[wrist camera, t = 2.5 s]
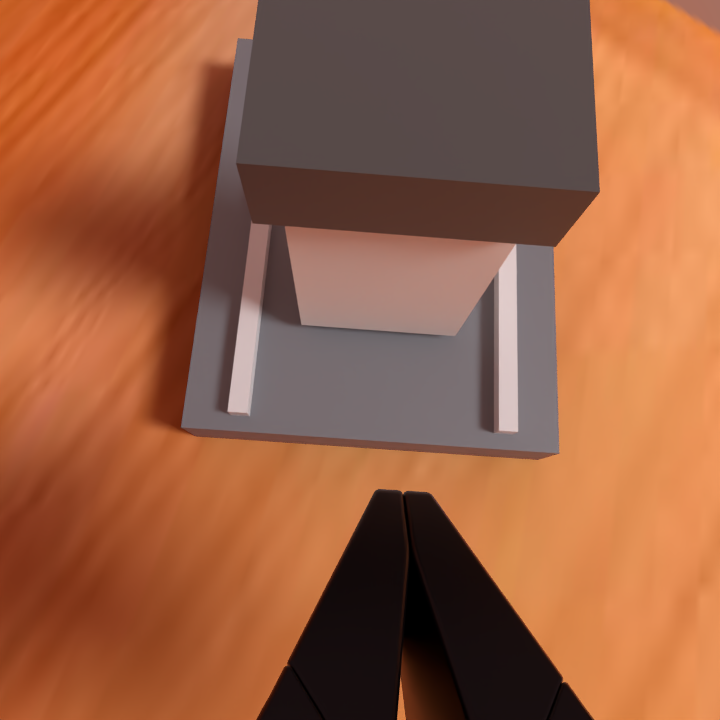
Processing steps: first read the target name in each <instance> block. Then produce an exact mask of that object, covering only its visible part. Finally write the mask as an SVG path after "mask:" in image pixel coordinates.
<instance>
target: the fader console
mask: <svg viewBox="0 0 720 720" xmlns="http://www.w3.org/2000/svg"><path fill="white" fill-rule="evenodd" d="M252 43H253V40H251V39H239V38H238V41H237V48H236V55H235V62H234V69H233V76H232V82H231V89H230V96H229V103H228V110H227V116H226V123H225V130H224V137H223V144H222V151H221V157H220V164H219V171H218V178H217V185H216V192H215V198H214V205H213V212H212V219H211V226H210V232H209V239H208V246H207V253H206V260H205V267H204V273H203V280H202V287H201V294H200V301H199V308H198V314H197V321H196V328H195V335H194V342H193V349H192V355H191V362H190V369H189V376H188V383H187V389H186V396H185V403H184V410H183V417H182V424H181V428H183V429H184V430H186V431H188V432H189V433H191V434H193V435H194V436H200V437H214V438H229V439H243V440H258V441H273V442H287V443H302V444H316V445H331V446H345V447H360V448H375V449H389V450H404V451H418V452H433V453H448V454H462V455H477V456H491V457H506V458H520V459H535V460H539V459H542V458H546V457H549V456H552V455H556V454H559V429H558V394H557V359H556V324H555V288H554V253H553V247H550V246H537V245H524V244H515V246H514V248H513V249H512V251H511V252H510V254H509V255H508V257H507V258H506V260H505V261H504V263H503V264H502V266H501V267H500V269H499V270H498V272H497V273H496V275H495V276H494V278H493V279H492V281H491V283H490V284H489V286H488V287H487V289H486V290H485V292H484V293H483V295H482V296H481V298H480V299H479V301H478V302H477V304H476V305H475V307H474V308H473V310H472V311H471V313H470V314H469V316H468V317H467V319H466V321H465V322H464V324H463V325H462V327H461V328H460V330H459V331H458V333H457V334H456V336H446V335H432V334H419V333H405V332H391V331H378V330H364V329H351V328H337V327H323V326H310V325H301V319H300V313H299V308H298V302H297V296H296V290H295V284H294V278H293V272H292V266H291V261H290V255H289V249H288V243H287V237H286V231H285V226H279V225H266V224H253V223H252V219H251V216H250V212H249V209H248V205H247V201H246V198H245V194H244V191H243V187H242V183H241V180H240V176H239V172H238V169H237V165H236V159H237V152H238V144H239V137H240V130H241V123H242V115H243V108H244V101H245V94H246V86H247V79H248V72H249V65H250V57H251V50H252Z"/></svg>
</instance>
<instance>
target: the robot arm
mask: <svg viewBox="0 0 720 720" xmlns="http://www.w3.org/2000/svg"><path fill="white" fill-rule="evenodd" d="M400 676H401V682H402V690H403V699H404V707H405V715H406V720H594V719H593V718H592V716H591V715H590V714H589V712H588V711H587V710H586V708H585V707H584V706H583V704H582V703H581V701H580V700H579V699H578V697H577V696H576V694H575V693H574V692H573V690H572V689H571V687H570V686H569V685H568V683H566V682H563V683H562V681H563V677H562V675H561V674H560V672H559V671H558V670H557V668H556V667H555V665H554V664H553V663H552V661H551V660H550V658H549V657H548V656H547V654H546V653H545V652H544V650H543V649H542V647H541V646H540V645H539V643H538V642H537V640H536V639H535V638H534V636H533V635H532V633H531V632H530V631H529V629H528V628H527V626H526V625H525V624H524V622H523V621H522V620H521V618H520V617H519V615H518V614H517V613H516V611H515V610H514V608H513V607H512V606H511V604H510V603H509V601H508V600H507V599H506V597H505V596H504V594H503V593H502V592H501V590H500V589H499V588H498V586H497V585H496V583H495V582H494V581H493V579H492V578H491V576H490V575H489V574H488V572H487V571H486V569H485V568H484V567H483V565H482V564H481V562H480V561H479V560H478V558H477V557H476V556H475V554H474V553H473V551H472V550H471V549H470V547H469V546H468V544H467V543H466V542H465V540H464V539H463V537H462V536H461V535H460V533H459V532H458V530H457V529H456V528H455V526H454V525H453V524H452V522H451V521H450V519H449V518H448V517H447V515H446V514H445V512H444V511H443V510H442V508H441V507H440V505H439V504H438V503H437V501H436V500H435V498H434V497H433V496H432V495H431V494H430V493H427V492H415V491H406V492H405V493H404V494H402V492H401V491H398V490H385V489H378V490H376V491H375V492H374V494H373V496H372V498H371V500H370V502H369V504H368V506H367V508H366V509H365V511H364V513H363V515H362V517H361V519H360V521H359V523H358V525H357V527H356V529H355V531H354V533H353V535H352V537H351V539H350V541H349V543H348V545H347V547H346V549H345V550H344V552H343V554H342V556H341V558H340V560H339V562H338V564H337V566H336V568H335V570H334V572H333V574H332V576H331V578H330V580H329V582H328V584H327V586H326V588H325V590H324V592H323V593H322V595H321V597H320V599H319V601H318V603H317V605H316V607H315V609H314V611H313V613H312V615H311V617H310V619H309V621H308V623H307V625H306V627H305V629H304V631H303V633H302V634H301V636H300V638H299V640H298V642H297V644H296V646H295V648H294V650H293V652H292V654H291V656H290V658H289V660H288V663H287V666H285V667H284V669H283V671H282V673H281V675H280V677H279V679H278V681H277V683H276V684H275V686H274V688H273V690H272V692H271V694H270V696H269V698H268V699H267V701H266V703H265V705H264V707H263V708H262V710H261V712H260V714H259V716H258V717H257V719H256V720H397V712H398V700H399V688H400Z"/></svg>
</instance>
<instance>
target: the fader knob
mask: <svg viewBox="0 0 720 720" xmlns="http://www.w3.org/2000/svg"><path fill="white" fill-rule="evenodd" d="M236 165H237V169H238V172H239V176H240V180H241V183H242V187H243V191H244V194H245V198H246V201H247V205H248V209H249V212H250V216H251V219H252V223H253V224H266V225H279V226H285V231H286V237H287V243H288V249H289V255H290V261H291V266H292V272H293V278H294V284H295V290H296V296H297V302H298V308H299V313H300V319H301V325H310V326H323V327H337V328H351V329H364V330H378V331H391V332H405V333H419V334H432V335H446V336H456V334H457V333H458V331H459V330H460V328H461V327H462V325H463V324H464V322H465V321H466V319H467V317H468V316H469V314H470V313H471V311H472V310H473V308H474V307H475V305H476V304H477V302H478V301H479V299H480V298H481V296H482V295H483V293H484V292H485V290H486V289H487V287H488V286H489V284H490V283H491V281H492V279H493V278H494V276H495V275H496V273H497V272H498V270H499V269H500V267H501V266H502V264H503V263H504V261H505V260H506V258H507V257H508V255H509V254H510V252H511V251H512V249H513V248H514V246H515V244H524V245H537V246H550V247H556V246H557V244H558V243H559V242H560V241H561V239H562V238H563V237H564V236H565V234H566V233H567V232H568V231H569V230H570V228H571V227H572V226H573V225H574V223H575V222H576V221H577V220H578V218H579V217H580V216H581V215H582V213H583V212H584V211H585V210H586V209H587V207H588V206H589V205H590V204H591V202H592V201H593V200H594V199H595V197H596V196H597V195H598V194H599V192H600V188H599V169H598V151H597V132H596V113H595V95H594V76H593V57H592V38H591V20H590V1H589V0H258V7H257V14H256V21H255V28H254V36H253V43H252V50H251V57H250V65H249V72H248V79H247V86H246V94H245V101H244V108H243V115H242V123H241V130H240V137H239V144H238V152H237V159H236Z"/></svg>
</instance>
